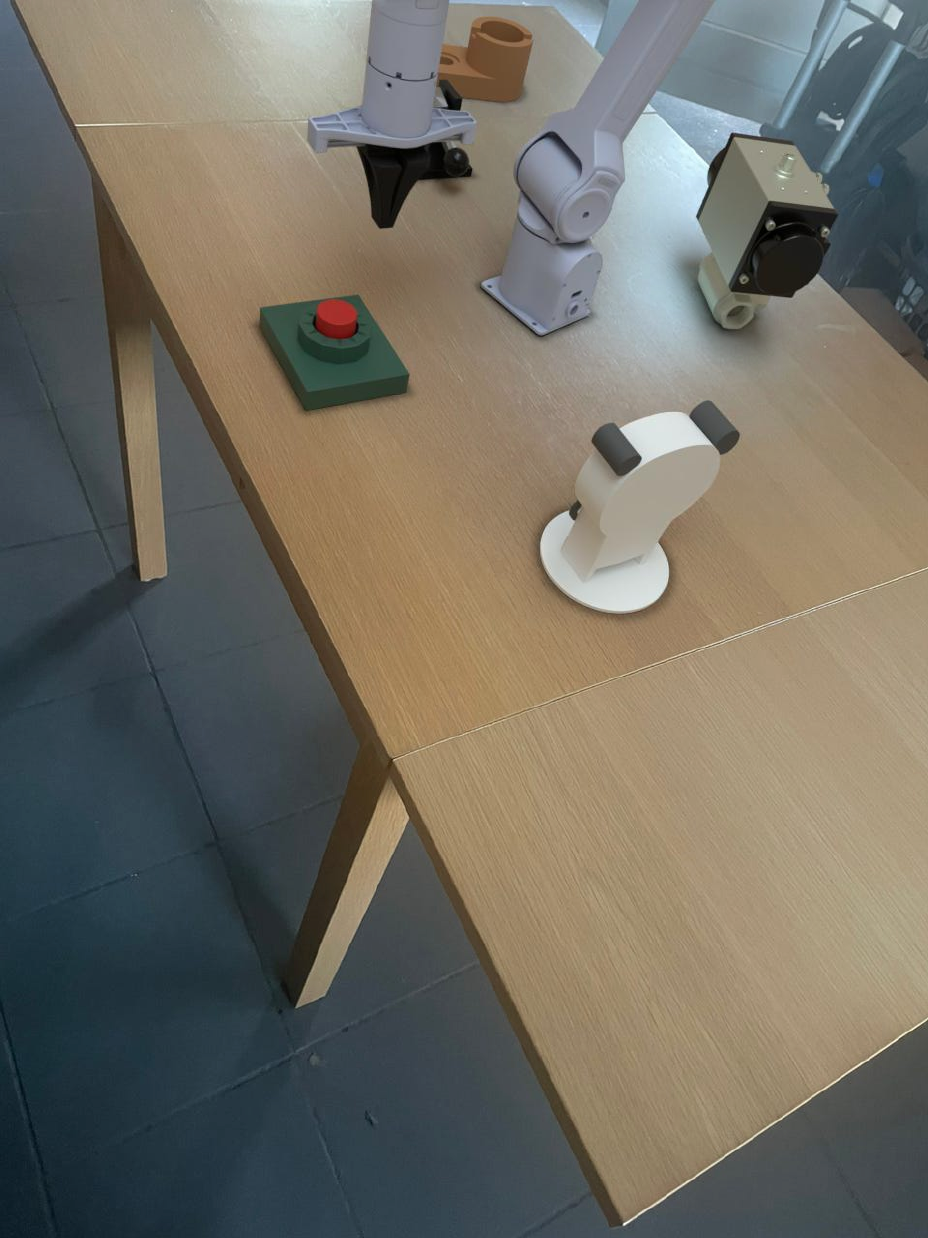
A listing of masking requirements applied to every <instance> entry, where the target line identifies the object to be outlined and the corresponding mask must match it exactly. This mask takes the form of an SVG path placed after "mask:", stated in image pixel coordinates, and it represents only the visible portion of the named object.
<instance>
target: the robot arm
mask: <svg viewBox="0 0 928 1238" xmlns="http://www.w3.org/2000/svg"><path fill="white" fill-rule="evenodd" d="M715 2H716V0H638V1H637V2H636V4H635V6H634V7H633V10H632V11H631V13H630V15H629V16H628V18H627V20H626V21H625V23H624V24H623V26H622V28H621V29H620V31H619V33H618V35H617V36H616V38H615V39H614V41H613V43H612V44H611V46H610V48H609V49H608V51H607V52H606V55H605V56H604V58H603V59H602V61H601V63H600V65H599V66H598V67H597V69H596V71H595V72H594V74H593V76H592V78H591V79H590V81H589V83H588V84H587V86H586V87H585V90H584V91H583V93H582V95H581V96H580V97H579V99H578V101H577V102H576V104H575V106H574V107H573V108H570V109H567V110H562V111H558V112H555V113H551V114H549V116H548V118H547V119H546V121H545V123H544V124H543V125H542V128H541V129H540V130H539V131H538V132H537V133H536V134H535V135H534V136H533V137H531V138H530V139H529V140H528V141H527V142H526V143H525V144H523V146H522V147H521V148H520V150H519V152H518V154H517V155H516V158H515V161H514V164H513V169H512V170H513V171H512V172H513V173H512V174H513V179H514V182H515V185H516V187H517V188H518V189H519V193H518V198H517V203H518V209H517V213H516V217H515V222H514V225H513V229H512V232H511V237H510V241H509V244H508V249H507V251H506V257H505V260H504V264H503V268H502V271H501V274H499V275H496V276H494V277H491V278H489V279H486V280H483V281H481V283H480V287H481V289H483V290H484V291H485V292H486V293H488V294H489V295H490V296H491V297H492V298H493V299H495V300H496V301H497V302H499V303H500V304H501V305H502V306H503V307H504V308H506V309H507V310H508V311H509V312H510V313H511V314H513V316H515V317H516V318H517V319H519V321H521V322H522V323H523V324H525V326H527V327H528V328H530V329H531V331H533V332H534V333H535V334H537V336H545V335H546V334H549V333H551V332H553V331H556V330H558V329H561V328H563V327H565V326H568V325H569V324H572V323H574V322H577V321H578V320H581V319H584V318H586V317H588V316H590V314H591V310H590V308H589V306H590V303H591V299H592V297H593V294H594V292H595V288H596V286H597V283H598V280H599V277H600V274H601V271H602V268H603V255H602V254H601V253H600V251H598V249H597V248H596V247H595V245H594V244H593V242H592V240H591V237H592V236H594V235H595V234H596V233H597V232H599V230H601V229H602V227H603V226H604V225H605V224H606V221H608V219H609V217H610V215H611V212H612V209H613V206H614V202H615V198H616V196H617V194H618V192H619V190H620V189H621V187H622V186H623V184H624V183H625V181H626V172H625V171H626V170H625V169H626V168H625V159H624V142H625V140H626V139H627V137H628V136H629V135H630V133H631V131H632V130H633V128H634V127H635V125H636V124H637V122H638V120H639V119H640V117H641V116H642V114H643V112H644V111H645V110H646V108H647V107H648V105H649V103H650V102H651V100H652V99H653V97H654V96H655V94H656V93H657V91H658V89H659V88H660V87H661V85H662V84H663V82H664V80H665V79H666V77H667V76H668V75H669V73H670V71H671V70H672V68H673V66H674V65H675V63H676V62H677V60H678V59H679V58H680V56H681V54H682V53H683V51H684V50H685V48H686V47H687V45H688V43H689V42H690V41H691V39H692V37H693V35H695V32H696V31H697V30H698V28H699V26H700V25H701V23H702V22H703V20H704V19H705V17H706V15H707V14H708V13H709V11H710V10H711V8H712V6H713V5H714V3H715ZM449 6H450V0H371V9H370V17H369V28H368V29H369V30H368V37H367V38H368V39H367V49H366V61H365V69H364V70H365V71H364V79H363V89H362V99H361V101H362V102H361V105H357V106H353V107H351V108H346V109H343V110H339V111H335V112H332V113H329V114H328V113H327V114H324V115H317V116H308V118H307V131H306V132H307V134H306V136H307V137H306V141H307V143H309V146H310V147H311V149H312V150H313V151H314V153H315V154H324V153H327V152H328V149H332V148H333V149H334V148H335V149H336V148H353V147H355V148H356V150H357V152H358V156H359V158H360V161H361V165H362V167H363V171H364V174H365V178H366V183H367V187H368V194H369V201H370V202H369V203H370V214H371V216H370V217H371V218H372V220H373V222H374V223H375V224H376V226H377V227H378V229H380V230H383V229H393V228H394V225H395V224H396V221H397V219H398V217H399V214H400V211H401V209H402V208H403V205H404V203H405V201H406V200H407V197H408V196H409V194H410V192H411V191H412V189H413V187H414V186H415V185H416V183H417V182H418V181H420V180H419V178H420V177H421V176H422V175H423V174H424V173H425V172H426V171H427V170H428V167H429V162H430V156H429V154H428V153H427V152H426V150H425V144H429V143H432V142H447V141H455V142H460V144H462V145H465V146H466V145H468V146H469V145H470V146H471V145H474V141H475V136H476V131H477V127H478V121H477V120H476V119H475V118H474V117H473V115H472V114H471V113H470V112H469V111H468V110H460V111H453V110H445V109H438V108H433V102H434V96H435V89H436V83H437V77H438V70H439V64H440V57H441V51H442V45H443V44H444V38H445V31H446V26H447V19H448V13H449Z"/></svg>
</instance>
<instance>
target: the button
mask: <svg viewBox="0 0 928 1238" xmlns="http://www.w3.org/2000/svg"><path fill="white" fill-rule="evenodd" d="M356 320H357V312H356V310H355V308H354V307H353V306H352V305H350V304H349V303H347V302H344V301H341V300H326V301H323V302H322V303H320V304H319V305H318V307H317V313H316V329H317V331H318V332H319V333H321V334H322V335H324V336H326V337H329V338H334V339H339V340H340V339H346V338H350V337H352V336H353V335H354V333H355V328H356Z"/></svg>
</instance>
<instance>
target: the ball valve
mask: <svg viewBox="0 0 928 1238" xmlns="http://www.w3.org/2000/svg"><path fill="white" fill-rule="evenodd" d="M822 181H823V174H822V173H821V172H814V171H812V170H811V169H810V166H809V165H808V164H807V162H806V160H805V158H804V157H803V156H802V154H801V153H800V151H799V149H798V147H797V146H796V144H795V143H794V141H793V140H787V139H779V138H773V137H767V136H759V135H753V134H745V133H739V132H731V133H730V135H729V137H728V139H727V141H726V144H725V146H724V147H723V148H722V149H721V150H720V151H719V152H717V154H716V155H715V156H714V158H713V159H712V160H711V162H710V164H709V166H708V169H707V174H706V182H707V185H708V187H707V188H706V191H705V194H704V196H703V198H702V200H701V203H700V205H699V207H698V210H697V212H696V215H695V218H696V221H697V222H698V225H699V227H700V229H701V231H702V233H703V235H704V238H705V240H706V241H707V245H708V246H709V248H710V250H711V253H710V254H707V256H706V257H704V259H702V260H701V261H700V263H699V264H698V266H699V267H698V268H699V272H698V275H697V281H698V284H699V287H700V289H701V291H702V294H703V296H704V298H705V301H706V302H707V306H708V308H709V309H710V312H711V313H712V316H713V318H714V320H715V322H716V323H718V324H719V325H721V327H722V328H724V329H728V330H740V329H741V328H743V327H744V326H746V325H748V324H749V323H750V321H752V320H753V319H754V318H755V313H759V312H761V311H762V310H764V309H765V308H766V307H767V306H768V304H769V302H770V299H771V297H778V298H786V299H792V298H793V297H794V296H795V294H796V292H798V291H800V290H801V289H803V288H805V287H806V286H808V285H809V284H810V282H812V280H813V279H815V277H816V276H817V275H818V273H819V272H820V270H821V268H822V267H823V266H822V265H823V262H824V257H825V256H826V254H827V252H828V251H829V249H830V247H831V245H832V243H831V242H830V241H829V238H828V237H827V236H829V234H830V232H831V229H832V228H833V226H834V224H835V222H836V220H837V218H838V217H839V213H838V212H837V210H836V209H835V207H834V205H833V204H832V203H831V201H830V200H829V197H828V195H829V193H830V185H829V184H827V183H822Z"/></svg>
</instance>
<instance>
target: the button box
mask: <svg viewBox="0 0 928 1238" xmlns="http://www.w3.org/2000/svg"><path fill="white" fill-rule="evenodd" d="M326 300H341V301H344V302H347V303H349V304H350V305H352V306H353V307H354V308H355V310H356V312H357V320H356V328H355V333H354V335H353V336H352V337H350V338H346V339H340V340H339V339H334V338H329V337H326V336H324V335H322V334H321V333H319V332H318V331H317V329H316V313H317V307H318V305H319V304H320V303H322V302H323V301H326ZM259 329H260V330H261V332H262V334H263V336H264V338H265V339H266V342H267V343H268V345H269V347H270V349H271V350H272V352H273V354H274V356H275V357H276V359H277V361H278V363H279V365H280V367H281V369H282V370H283V372H284V374H285V376H286V377H287V379H288V382H289V383H290V385H291V387H292V389H293V390H294V392H295V394H296V396H297V397H298V399H299V402H300V403H301V405H302V407H303V408H304V411H312V410H317V409H322V408H328V407H333V406H334V407H335V406H339V405H344V404H345V405H346V404H350V403H355V402H362V401H367V400H371V399H372V400H373V399H377V398H383V397H389V396H394V395H401V394H405V393H407V391H408V385H409V381H410V373H409V371H408V368H407V367H406V366H405V365H404V363H403V361H402V360H401V358H400V357H399V355H398V353H397V352H396V351H395V349H394V347H393V345H392V344H391V342H390V341H389V340H388V338H387V336H386V335H385V334H384V332H383V330H382V328H381V327H380V326H379V324H378V323H377V321H376V319H375V318H374V316H373V315H372V313H371V312H370V310H369V309H368V307H367V306H366V304H365V302H364V301H363V299H362V298H361V296H360V295H359V294H351V295H343V296H337V297H329V298H327V297H326V298H321V299H320V298H319V299H313V300H305V301H297V302H290V303H283V304H276V305H268V306H260V307H259Z"/></svg>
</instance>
